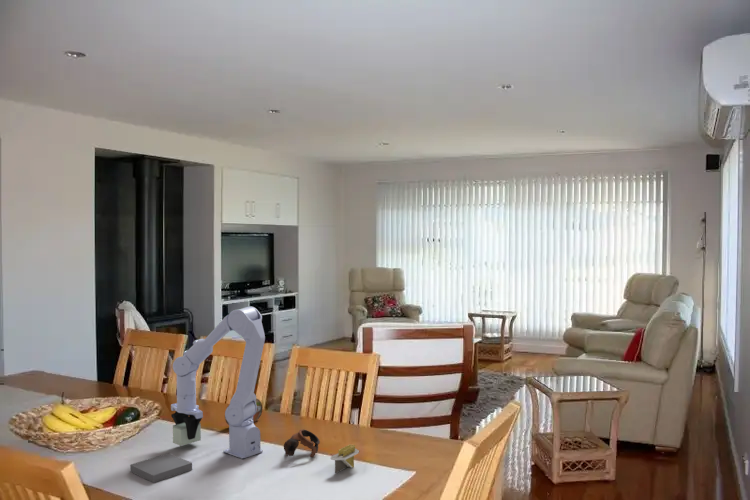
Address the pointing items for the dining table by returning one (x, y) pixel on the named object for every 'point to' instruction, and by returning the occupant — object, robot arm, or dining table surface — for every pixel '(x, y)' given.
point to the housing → (184, 434)
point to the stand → (160, 467)
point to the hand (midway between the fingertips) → (186, 437)
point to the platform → (344, 457)
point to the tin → (258, 412)
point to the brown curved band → (300, 436)
